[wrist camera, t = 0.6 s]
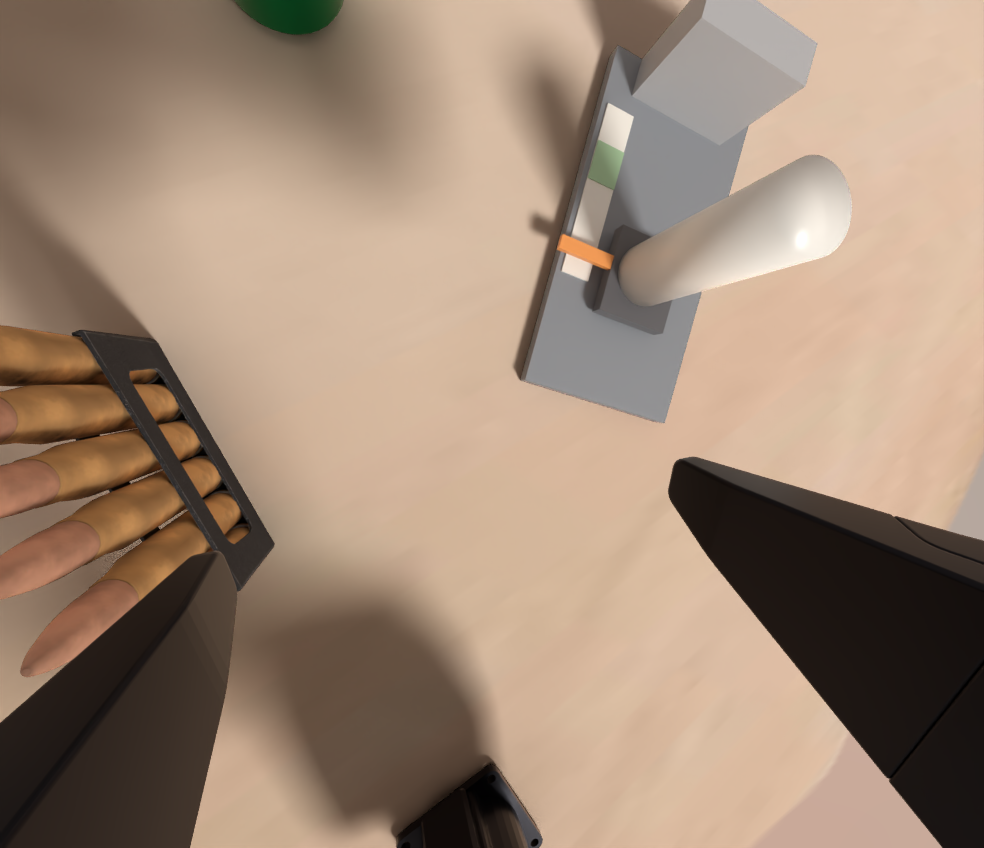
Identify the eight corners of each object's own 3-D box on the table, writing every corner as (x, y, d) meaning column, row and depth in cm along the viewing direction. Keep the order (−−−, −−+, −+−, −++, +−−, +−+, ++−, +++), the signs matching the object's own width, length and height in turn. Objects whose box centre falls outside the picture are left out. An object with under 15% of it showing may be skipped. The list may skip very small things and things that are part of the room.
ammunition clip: (109, 355, 18) (-352, 302, 7) (155, 338, 18) (-205, 261, 7) (237, 564, 20) (56, 803, 9) (275, 545, 21) (150, 750, 9)
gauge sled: (653, 335, 24) (836, 302, 14) (541, 292, 22) (669, 222, 12) (675, 257, 24) (873, 172, 14) (565, 207, 22) (711, 72, 12)
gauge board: (655, 422, 26) (734, 432, 20) (520, 380, 23) (566, 378, 18) (737, 131, 25) (840, 59, 20) (609, 56, 23) (686, -50, 17)
